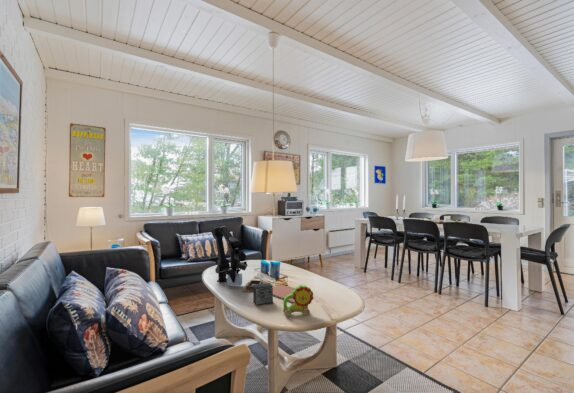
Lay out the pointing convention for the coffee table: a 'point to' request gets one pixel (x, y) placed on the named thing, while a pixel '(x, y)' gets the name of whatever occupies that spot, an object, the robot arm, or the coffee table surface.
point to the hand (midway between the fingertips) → (234, 281)
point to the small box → (262, 294)
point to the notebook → (283, 292)
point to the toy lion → (298, 301)
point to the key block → (237, 280)
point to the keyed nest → (250, 284)
